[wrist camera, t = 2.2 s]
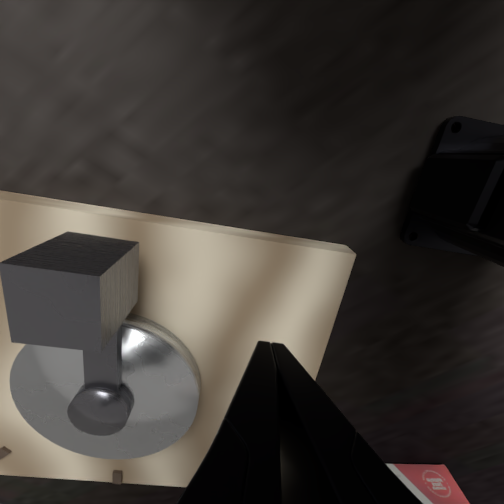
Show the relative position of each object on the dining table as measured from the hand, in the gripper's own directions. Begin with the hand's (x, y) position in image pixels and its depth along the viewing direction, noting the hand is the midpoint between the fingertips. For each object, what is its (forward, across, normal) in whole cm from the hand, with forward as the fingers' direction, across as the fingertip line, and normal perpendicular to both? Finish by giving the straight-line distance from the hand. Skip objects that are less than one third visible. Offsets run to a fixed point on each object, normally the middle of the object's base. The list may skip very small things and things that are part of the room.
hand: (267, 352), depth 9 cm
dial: (+5, +7, +6) cm, 11 cm away
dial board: (+7, +7, +8) cm, 13 cm away
